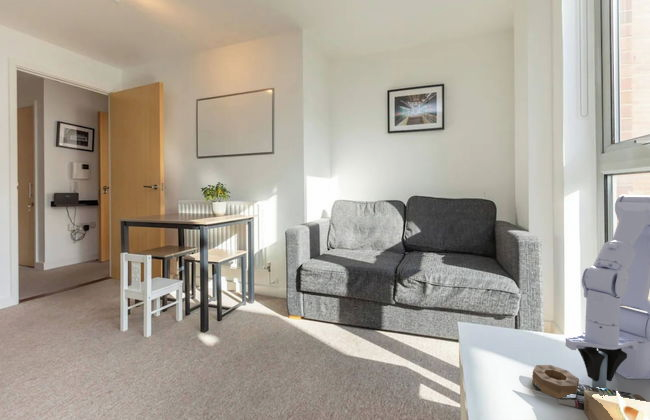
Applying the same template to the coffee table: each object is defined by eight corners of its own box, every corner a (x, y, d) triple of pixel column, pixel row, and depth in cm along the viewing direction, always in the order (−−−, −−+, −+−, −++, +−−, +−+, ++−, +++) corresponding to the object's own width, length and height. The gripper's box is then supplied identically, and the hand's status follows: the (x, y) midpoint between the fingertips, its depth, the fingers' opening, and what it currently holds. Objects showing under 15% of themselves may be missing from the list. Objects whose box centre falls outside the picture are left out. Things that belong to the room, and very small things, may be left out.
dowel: (599, 383, 73) (601, 350, 72) (609, 390, 70) (610, 356, 70) (589, 383, 73) (590, 350, 72) (598, 390, 70) (599, 356, 70)
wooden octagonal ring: (559, 376, 76) (560, 364, 75) (586, 399, 68) (587, 385, 67) (526, 377, 76) (526, 365, 76) (549, 399, 68) (549, 385, 68)
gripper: (618, 313, 74) (615, 368, 75) (556, 313, 75) (554, 368, 75) (648, 326, 67) (645, 386, 68) (580, 326, 68) (577, 387, 68)
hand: (599, 378), depth 71 cm, fingers closed on dowel, 2 cm apart
